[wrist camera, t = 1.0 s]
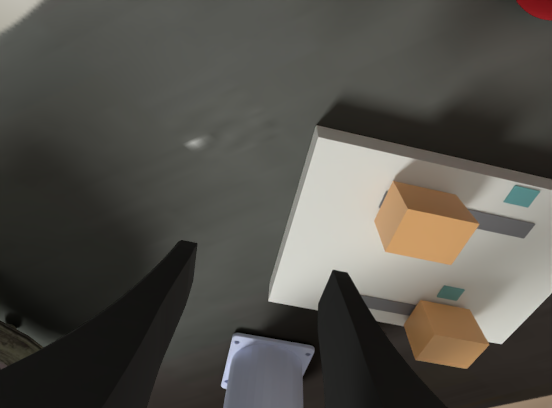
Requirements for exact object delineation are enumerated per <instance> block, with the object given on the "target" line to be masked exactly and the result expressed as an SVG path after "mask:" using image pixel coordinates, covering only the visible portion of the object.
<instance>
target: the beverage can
mask: <svg viewBox="0 0 552 408" xmlns="http://www.w3.org/2000/svg"><path fill="white" fill-rule="evenodd" d="M516 1H517V2H518V4H519V5H520V6H521V7H522V8H523V9H524V10H525V11H526V12H528V13H529V14H531V15H533V16H534V17H537V18H540V19H544V20H552V0H516Z"/></svg>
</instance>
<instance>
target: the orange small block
mask: <svg viewBox="0 0 552 408" xmlns="http://www.w3.org/2000/svg"><path fill="white" fill-rule="evenodd" d="M374 222H375V225H376V228H377V231H378V233H379V236H380V239H381V242H382V245H383V247H384V250H385V252H388V253H393V254H398V255H403V256H408V257H413V258H418V259H423V260H428V261H433V262H438V263H443V264H448V265H452V263H453V262H454V261H455V259H456V258H457V256H458V255H459V253H460V252H461V250H462V249H463V248H464V246H465V245H466V243H467V242H468V240H469V239H470V237H471V236H472V234H473V233H474V232H475V230H476V229H477V227H478V226H479V223H478V221H477V220H476V219H475V218H474V216H473V215H472V214H471V213H470V212H469V210H468V209H467V208H466V207H465V205H464V204H463V203H462V202H461V200H460V199H459V198H458V197H457V195H455V194H450V193H446V192H441V191H437V190H432V189H428V188H423V187H419V186H414V185H409V184H405V183H400V182H396V181H393V182H392V184H391V186H390V188H389V190H388V192H387V195H386V197H385V199H384V201H383V203H382V205H381V207H380V209H379V212H378V214H377V216H376V218H375V220H374Z"/></svg>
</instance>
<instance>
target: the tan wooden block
mask: <svg viewBox="0 0 552 408" xmlns="http://www.w3.org/2000/svg"><path fill="white" fill-rule="evenodd" d="M404 327H405V331H406V334H407V337H408V340H409V343H410V346H411V349H412V352H413V355H414V358H415V360H419V361H425V362H430V363H436V364H442V365H447V366H453V367H459V368H465V369H467V368H468V367H469V366H470V365H471V364H472V363H473V362H474V361H475V360H476V358H477V357H478V356H479V355H480V354H481V353H482V352H483V351H484V350H485V349H486V348H487V347H488V346H489V343H488V341H487V339H486V338H485V336H484V334H483V332H482V330H481V329H480V327H479V325H478V323H477V321H476V320H475V318H474V316H473V314H472V312H471V311H470V309H465V308H460V307H455V306H449V305H444V304H439V303H434V302H429V301H423V300H420V301H419V303H418V304H417V306H416V307H415V309H414V310H413V312H412V313H411V315H410V316H409V318H408V319H407V320H406V322H405V323H404Z"/></svg>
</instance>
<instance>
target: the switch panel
mask: <svg viewBox="0 0 552 408" xmlns="http://www.w3.org/2000/svg"><path fill="white" fill-rule="evenodd" d="M393 181H396V182H400V183H405V184H409V185H414V186H419V187H423V188H428V189H432V190H437V191H441V192H446V193H450V194H455V195H457V197H458V198H459V199H460V200H461V202H462V203H463V204H464V205H465V207H466V208H467V209H468V210H469V212H470V213H471V214H472V215H473V216H474V218H475V219H476V220H477V221H478V223H479V226H478V227H477V229H476V230H475V232H474V233H473V234H472V236H471V237H470V239H469V240H468V242H467V243H466V245H465V246H464V248H463V249H462V250H461V252H460V253H459V255H458V256H457V258H456V259H455V261H454V262H453V263H452V265H448V264H443V263H438V262H433V261H428V260H423V259H418V258H413V257H408V256H403V255H398V254H393V253H388V252H385V250H384V247H383V245H382V242H381V239H380V236H379V233H378V231H377V228H376V225H375V222H374V220H375V218H376V216H377V214H378V212H379V209H380V207H381V205H382V203H383V201H384V199H385V197H386V195H387V192H388V190H389V188H390V186H391V184H392V182H393ZM332 270H337V271H342V272H348V274H349V276H350V277H351V279H352V281H353V283H354V284H355V286H356V288H357V290H358V291H359V293H360V295H361V297H362V298H363V300H364V302H365V304H366V305H367V307H368V309H369V310H370V312H371V313H372V315H373V317H374V318H375V320H376V321H378V322H384V323H389V324H395V325H400V326H404V323H405V322H406V320H407V319H408V318H409V316H410V315H411V313H412V312H413V310H414V309H415V307H416V306H417V304H418V303H419V301H420V300H423V301H429V302H434V303H439V304H444V305H449V306H455V307H460V308H465V309H470V311H471V312H472V314H473V316H474V318H475V320H476V321H477V323H478V325H479V327H480V329H481V330H482V332H483V334H484V336H485V338H486V339H487V341H488V342H492V343H498V344H502V343H503V342H504V341H505V340H506V339H507V338H508V337H509V336H510V335H511V334H512V333H513V332H514V331H515V330H516V329H517V328H518V327H519V326H520V325H521V324H522V323H523V322H524V321H525V320H526V319H527V318H528V317H529V316H530V315H531V314H532V313H533V312H534V311H535V310H536V309H537V308H538V306H539V305H540V304H541V303H542V302H543V301H544V300H545V299H546V298H547V297H548V296H549V295H550V294H551V293H552V179H548V178H544V177H540V176H535V175H531V174H527V173H522V172H518V171H514V170H509V169H505V168H501V167H496V166H492V165H488V164H483V163H479V162H475V161H470V160H466V159H462V158H457V157H453V156H448V155H444V154H440V153H435V152H431V151H427V150H422V149H418V148H414V147H409V146H405V145H401V144H396V143H392V142H388V141H383V140H379V139H375V138H370V137H366V136H362V135H357V134H353V133H349V132H344V131H340V130H336V129H331V128H327V127H322V126H318V125H316V127H315V131H314V134H313V137H312V141H311V144H310V148H309V151H308V154H307V158H306V161H305V165H304V168H303V171H302V175H301V178H300V182H299V185H298V188H297V192H296V195H295V198H294V202H293V205H292V209H291V212H290V215H289V219H288V222H287V226H286V229H285V232H284V236H283V239H282V243H281V246H280V249H279V253H278V256H277V260H276V263H275V266H274V270H273V273H272V276H271V280H270V285H269V298H268V301H270V302H275V303H281V304H286V305H291V306H297V307H302V308H308V309H313V310H318V303H319V300H320V298H321V296H322V294H323V291H324V289H325V287H326V284H327V282H328V280H329V277H330V275H331V273H332Z"/></svg>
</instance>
